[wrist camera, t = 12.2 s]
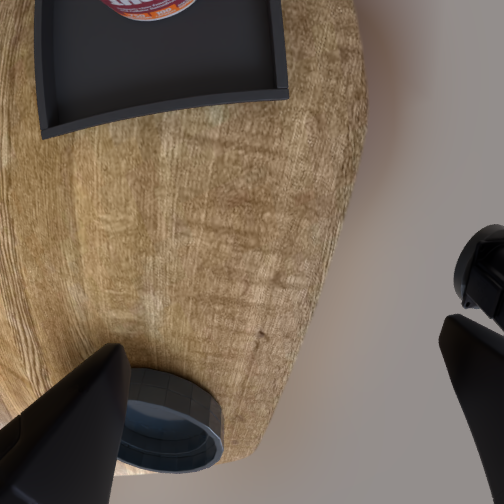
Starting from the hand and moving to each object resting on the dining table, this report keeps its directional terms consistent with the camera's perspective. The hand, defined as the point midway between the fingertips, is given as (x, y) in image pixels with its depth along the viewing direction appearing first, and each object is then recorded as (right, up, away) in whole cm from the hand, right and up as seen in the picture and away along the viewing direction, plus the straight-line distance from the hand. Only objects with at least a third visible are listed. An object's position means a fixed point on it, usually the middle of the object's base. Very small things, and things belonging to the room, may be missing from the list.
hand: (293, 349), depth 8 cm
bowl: (-10, -13, +20) cm, 26 cm away
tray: (-7, +18, +5) cm, 20 cm away
